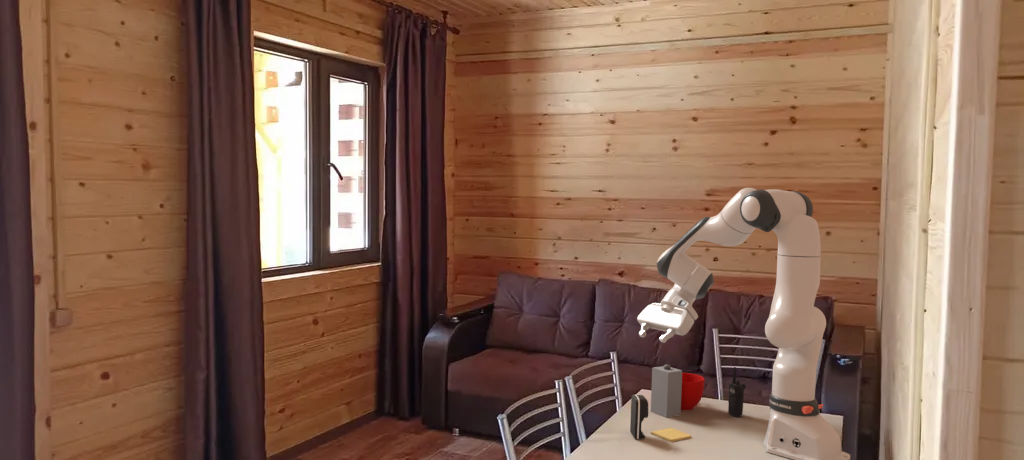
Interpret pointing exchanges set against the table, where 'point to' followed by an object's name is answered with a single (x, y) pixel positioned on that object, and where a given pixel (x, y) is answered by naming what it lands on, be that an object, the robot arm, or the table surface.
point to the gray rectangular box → (666, 391)
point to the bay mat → (671, 434)
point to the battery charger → (638, 415)
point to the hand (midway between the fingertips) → (651, 338)
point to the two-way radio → (736, 396)
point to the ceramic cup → (691, 390)
